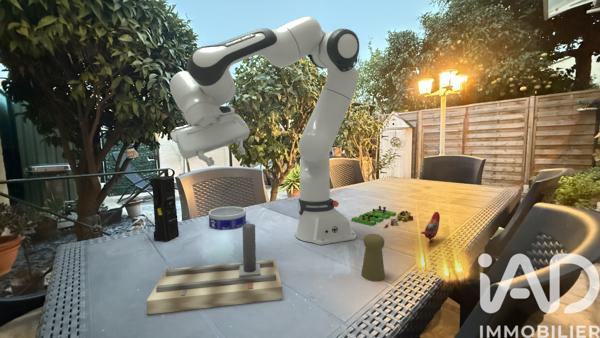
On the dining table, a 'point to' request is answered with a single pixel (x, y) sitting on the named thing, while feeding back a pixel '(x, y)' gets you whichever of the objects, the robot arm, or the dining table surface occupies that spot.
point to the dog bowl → (227, 218)
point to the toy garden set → (381, 217)
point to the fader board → (213, 287)
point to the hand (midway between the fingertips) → (227, 158)
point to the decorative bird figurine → (432, 227)
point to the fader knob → (249, 253)
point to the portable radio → (164, 208)
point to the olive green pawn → (373, 258)
